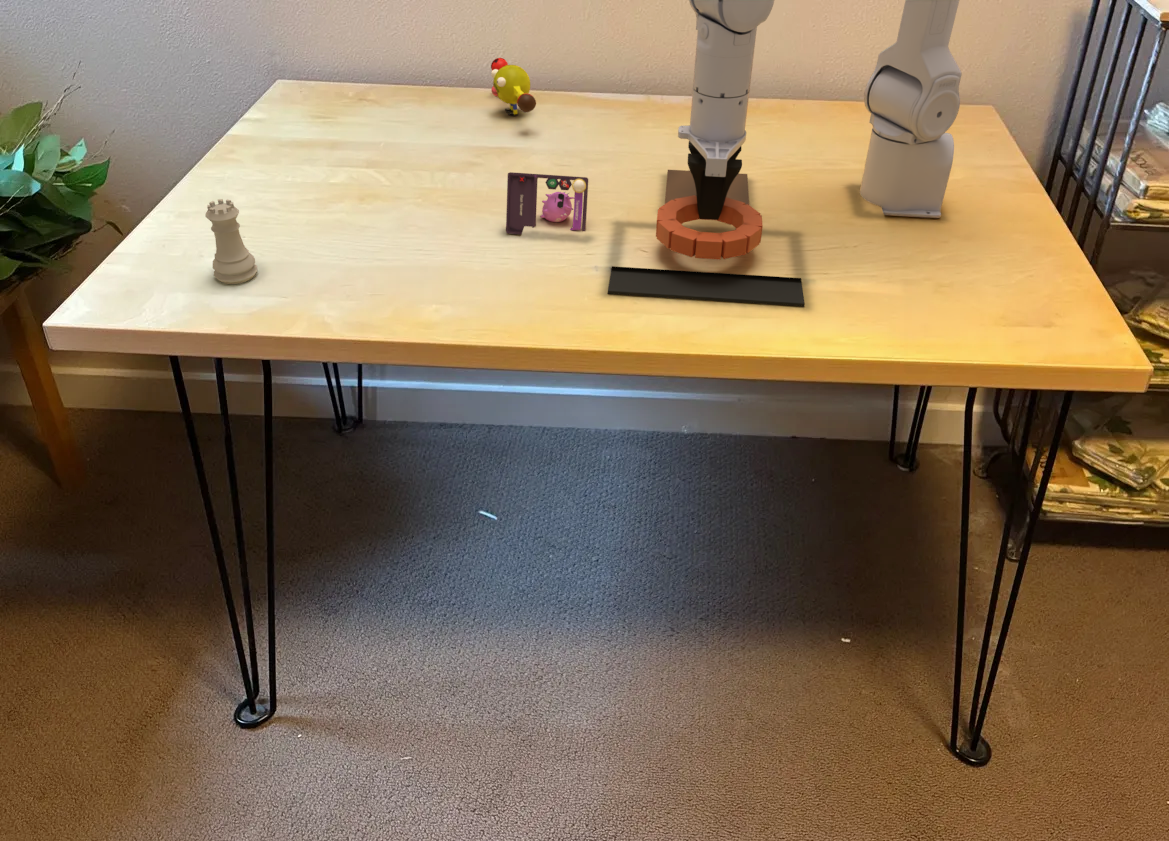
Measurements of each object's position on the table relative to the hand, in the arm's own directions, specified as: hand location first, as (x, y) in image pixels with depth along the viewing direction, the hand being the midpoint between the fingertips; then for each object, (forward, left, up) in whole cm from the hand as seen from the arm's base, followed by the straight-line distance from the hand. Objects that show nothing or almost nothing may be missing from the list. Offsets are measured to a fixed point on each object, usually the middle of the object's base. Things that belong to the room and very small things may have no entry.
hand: (708, 212), depth 107 cm
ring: (0, +4, 0) cm, 4 cm away
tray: (0, +4, -4) cm, 6 cm away
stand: (0, -13, -4) cm, 13 cm away
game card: (+18, -2, -4) cm, 18 cm away
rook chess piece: (+49, +13, -4) cm, 51 cm away
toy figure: (+28, -37, -4) cm, 46 cm away
